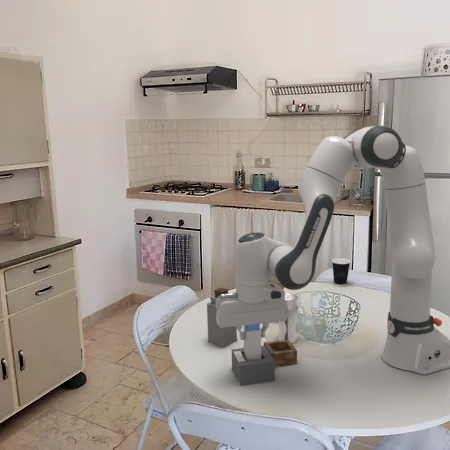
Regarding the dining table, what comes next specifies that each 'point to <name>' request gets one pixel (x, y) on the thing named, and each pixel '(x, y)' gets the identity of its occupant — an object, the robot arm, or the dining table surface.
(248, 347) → the plug
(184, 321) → the dining table surface
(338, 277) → the dixie cup
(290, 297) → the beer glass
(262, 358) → the port
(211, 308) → the perfume bottle
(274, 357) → the holster
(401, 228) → the robot arm
